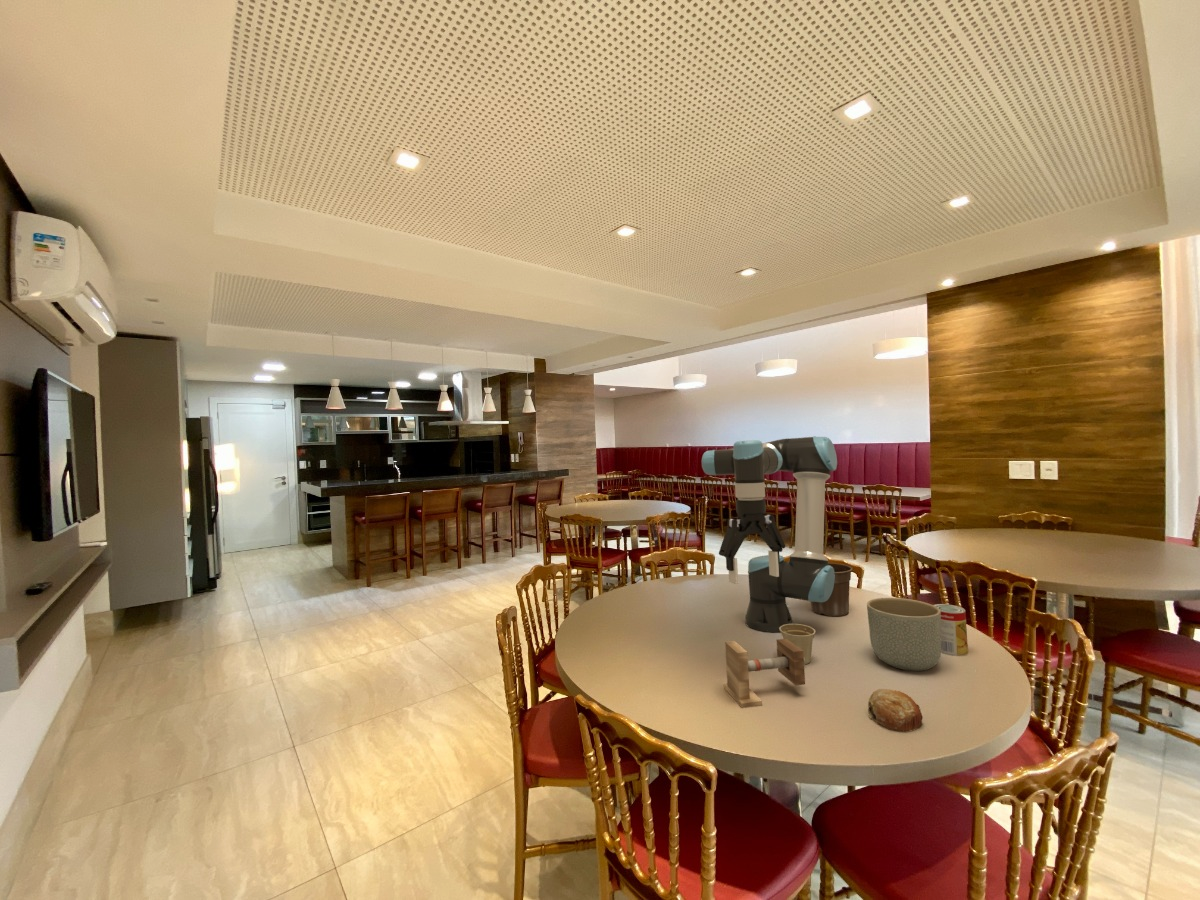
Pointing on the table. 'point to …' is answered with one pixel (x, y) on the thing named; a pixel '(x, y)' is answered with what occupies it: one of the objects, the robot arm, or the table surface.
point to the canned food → (953, 630)
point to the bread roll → (894, 710)
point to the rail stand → (746, 673)
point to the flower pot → (799, 637)
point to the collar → (792, 661)
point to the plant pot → (836, 593)
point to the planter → (905, 632)
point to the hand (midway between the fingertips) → (754, 579)
